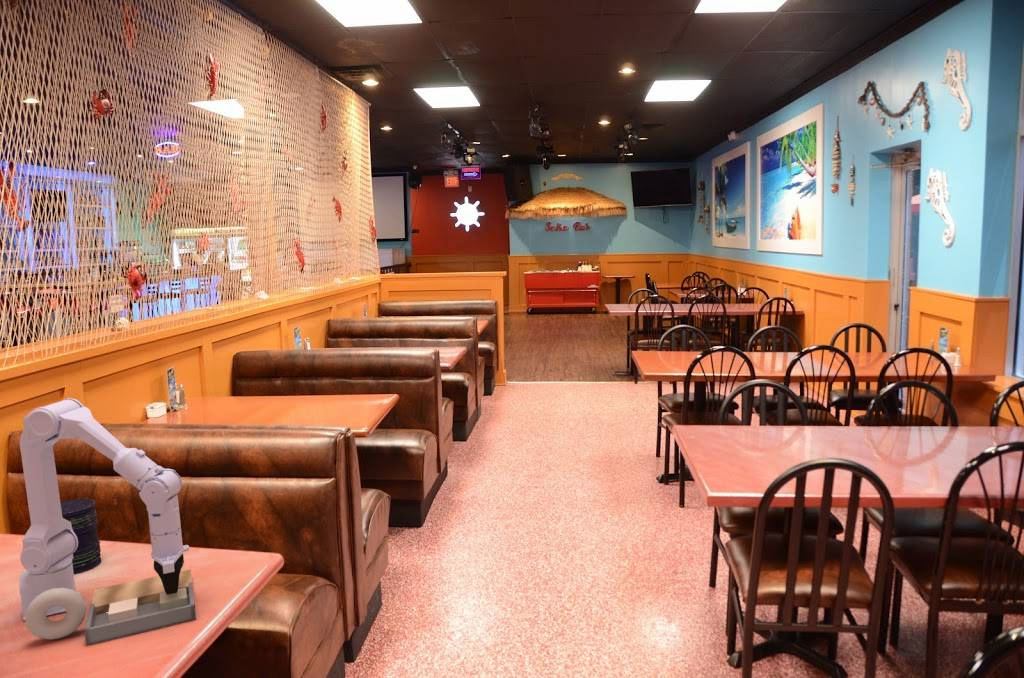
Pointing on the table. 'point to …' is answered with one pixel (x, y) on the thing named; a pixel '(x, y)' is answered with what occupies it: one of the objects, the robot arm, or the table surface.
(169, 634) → the table surface
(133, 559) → the table surface
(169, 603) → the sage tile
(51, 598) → the donut
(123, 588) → the oak board
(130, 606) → the cream tile
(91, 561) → the storage jar
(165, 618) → the box
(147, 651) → the table surface
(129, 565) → the table surface
